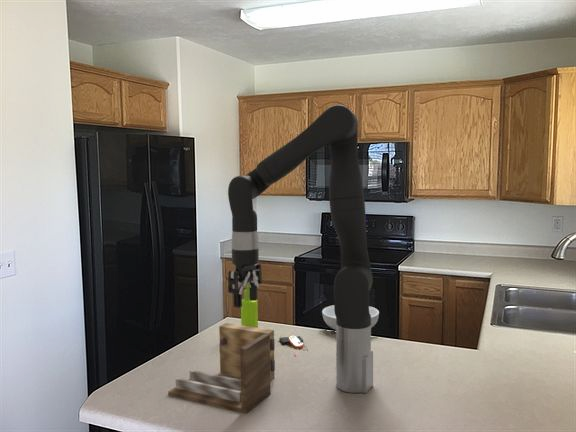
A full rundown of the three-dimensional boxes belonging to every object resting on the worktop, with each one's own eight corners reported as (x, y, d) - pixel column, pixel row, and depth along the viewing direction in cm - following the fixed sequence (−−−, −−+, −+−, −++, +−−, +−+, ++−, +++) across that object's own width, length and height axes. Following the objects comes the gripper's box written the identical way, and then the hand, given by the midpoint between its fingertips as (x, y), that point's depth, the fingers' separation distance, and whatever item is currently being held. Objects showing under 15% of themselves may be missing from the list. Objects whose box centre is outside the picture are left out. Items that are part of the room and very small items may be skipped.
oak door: (277, 379, 145) (277, 330, 143) (268, 385, 140) (268, 335, 139) (226, 369, 152) (226, 323, 151) (217, 375, 148) (216, 327, 146)
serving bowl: (313, 324, 196) (313, 306, 195) (361, 318, 203) (361, 301, 203) (337, 341, 176) (337, 321, 176) (390, 334, 184) (390, 315, 183)
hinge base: (270, 394, 135) (269, 334, 133) (246, 413, 124) (245, 349, 123) (196, 378, 145) (194, 323, 144) (168, 395, 135) (166, 335, 133)
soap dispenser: (258, 339, 179) (257, 283, 177) (239, 338, 180) (238, 282, 178) (262, 334, 184) (261, 279, 183) (244, 333, 186) (243, 278, 184)
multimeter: (324, 357, 162) (324, 346, 162) (287, 359, 160) (287, 349, 160) (313, 339, 180) (312, 330, 180) (279, 341, 178) (279, 332, 178)
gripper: (243, 251, 136) (244, 311, 137) (269, 244, 149) (269, 299, 150) (219, 249, 139) (220, 308, 141) (246, 243, 152) (247, 296, 153)
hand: (245, 303), depth 145 cm, fingers open, 8 cm apart
